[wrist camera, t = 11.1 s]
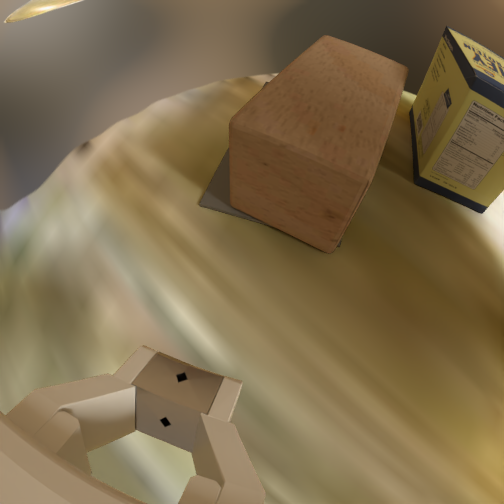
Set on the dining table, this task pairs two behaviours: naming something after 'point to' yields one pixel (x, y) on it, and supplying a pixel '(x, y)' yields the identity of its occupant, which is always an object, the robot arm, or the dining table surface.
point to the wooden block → (314, 140)
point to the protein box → (460, 123)
